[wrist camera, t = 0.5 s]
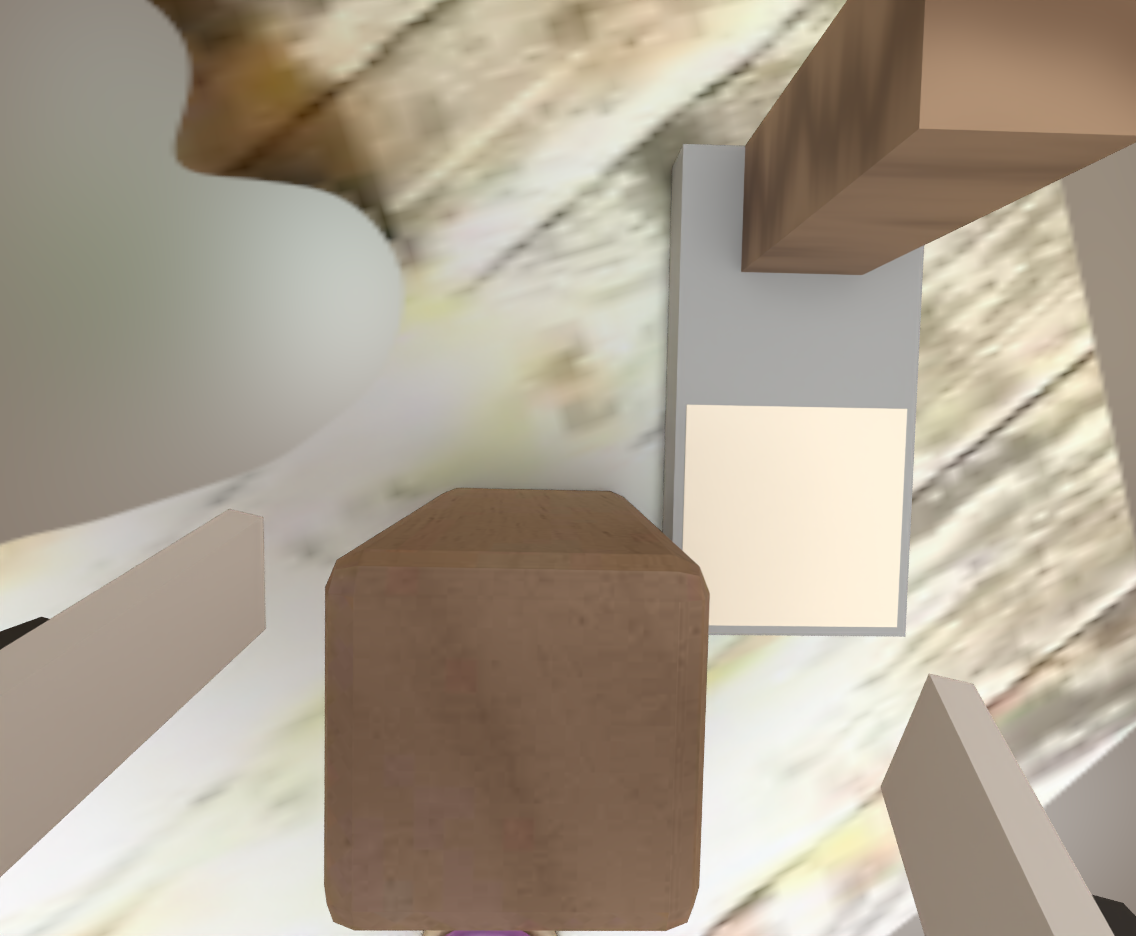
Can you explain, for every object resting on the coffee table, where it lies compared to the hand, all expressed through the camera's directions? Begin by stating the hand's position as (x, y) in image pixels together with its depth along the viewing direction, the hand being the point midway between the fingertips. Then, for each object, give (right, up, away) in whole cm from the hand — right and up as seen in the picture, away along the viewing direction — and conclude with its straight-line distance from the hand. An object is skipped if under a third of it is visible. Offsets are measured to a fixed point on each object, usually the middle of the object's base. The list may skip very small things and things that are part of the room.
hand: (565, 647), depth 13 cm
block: (-2, -3, +24) cm, 24 cm away
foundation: (+11, +7, +23) cm, 27 cm away
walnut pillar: (+12, +16, +20) cm, 28 cm away
